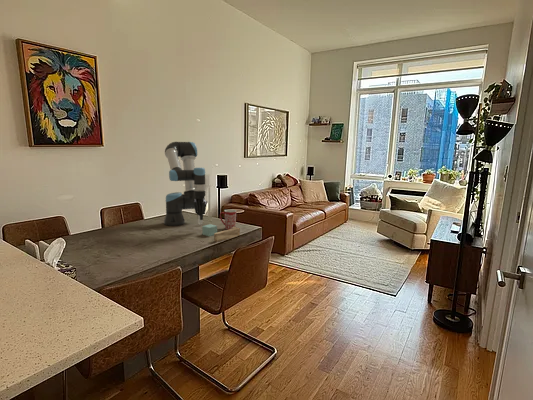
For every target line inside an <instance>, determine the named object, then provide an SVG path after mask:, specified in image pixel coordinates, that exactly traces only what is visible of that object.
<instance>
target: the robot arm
mask: <svg viewBox="0 0 533 400" xmlns="http://www.w3.org/2000/svg"><path fill="white" fill-rule="evenodd" d="M164 156H165V157H166V158H167V163H168V165H169V168H170V169H169V171H168V177H169V178H168V179H169V181H170V182H178V181H179V182H184V189H185V190H184V191H183V193H182V192H181V191H180V192H179V191H178V192H177V191H176V192H171V193H168V194H166V195H165V213H166V214H165V217H164V220H163V224H164V225H166V226H170V227H171V226H172V227H173V226H175V227H176V226H182V225H184V224H185V223H186V221H185V217H184V215H183V210H194V212H195V214H196V215H197V225H203V224H204V222H203V221H204V220H203V219H204V215H205V214H206V210H207V204H208V201H207V200H206V199H205V197H206V169H205V167H195V159H197V156H198V147H197V145H196V143H195V142H193V141H173V142H170V143H169V144H167V146H166V147H165V149H164ZM179 157H180V160H181V161H182V165H181V162H180V160H179ZM182 166H183V168H182Z"/></svg>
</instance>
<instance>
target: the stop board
mask: <svg viewBox="0 0 533 400" xmlns="http://www.w3.org/2000/svg"><path fill="white" fill-rule="evenodd" d="M240 234H241V230H240V228H239V227H236V226H235V227H232V229H229V230H226V229H225V230H223V231H222V230H221V231H217V233H214V235H213V242H216V243H218V242H222V240H223V241H226V240H228V239H232V238H235V237H238V236H240Z"/></svg>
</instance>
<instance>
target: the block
mask: <svg viewBox="0 0 533 400" xmlns="http://www.w3.org/2000/svg"><path fill="white" fill-rule="evenodd" d="M201 227H202V228H201V229H202V235H203V236H206V237H214V233H218V225H215V224H212V223H211V224H205V225H202V226H201Z"/></svg>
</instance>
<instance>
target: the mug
mask: <svg viewBox="0 0 533 400" xmlns="http://www.w3.org/2000/svg"><path fill="white" fill-rule="evenodd" d="M237 212H238V211H237V210H236V209H224V212H223V211H221V212H220V214H219V219H220V221H221V222H222V224H223V225H224V229H225V230H229V229H232V227H236V224H237ZM222 214H223V215H224V220H223V218H222Z"/></svg>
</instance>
